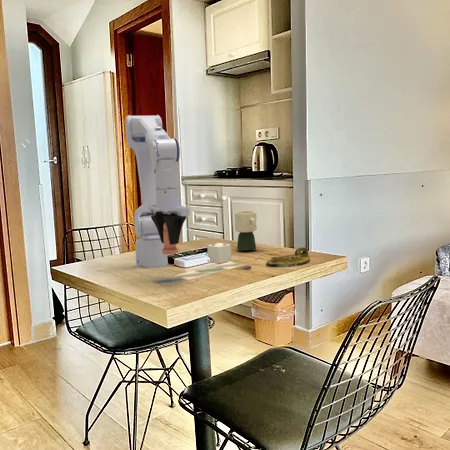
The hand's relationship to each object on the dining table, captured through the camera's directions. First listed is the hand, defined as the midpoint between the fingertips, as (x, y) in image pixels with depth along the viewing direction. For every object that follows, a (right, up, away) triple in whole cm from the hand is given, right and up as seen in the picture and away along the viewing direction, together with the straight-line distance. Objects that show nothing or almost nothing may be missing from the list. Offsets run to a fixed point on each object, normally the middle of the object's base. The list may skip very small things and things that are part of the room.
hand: (169, 243), depth 119 cm
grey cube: (+12, -6, +26) cm, 29 cm away
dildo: (0, -2, 0) cm, 2 cm away
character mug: (+21, -4, +40) cm, 45 cm away
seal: (+32, -7, +20) cm, 38 cm away
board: (+7, -9, +8) cm, 14 cm away
